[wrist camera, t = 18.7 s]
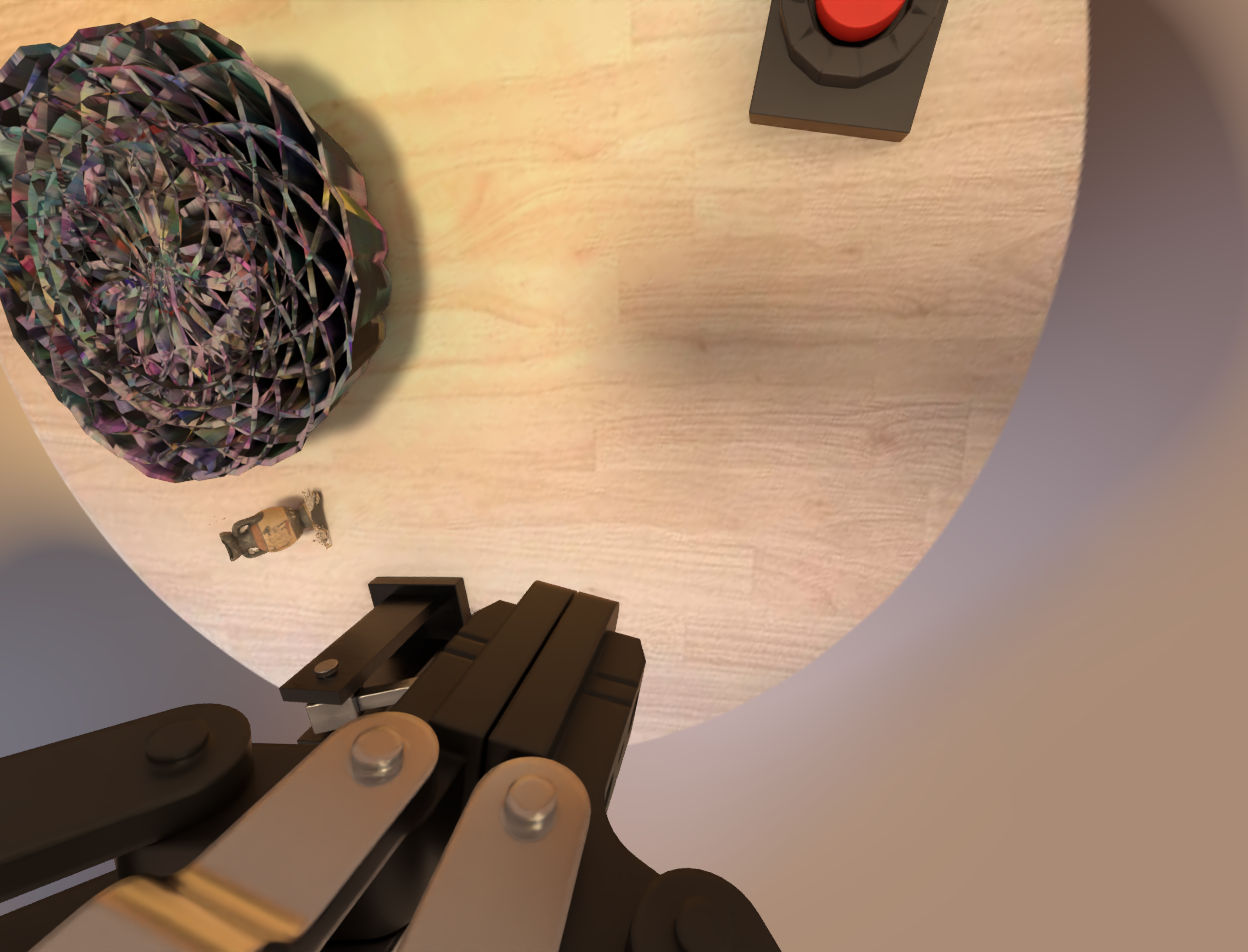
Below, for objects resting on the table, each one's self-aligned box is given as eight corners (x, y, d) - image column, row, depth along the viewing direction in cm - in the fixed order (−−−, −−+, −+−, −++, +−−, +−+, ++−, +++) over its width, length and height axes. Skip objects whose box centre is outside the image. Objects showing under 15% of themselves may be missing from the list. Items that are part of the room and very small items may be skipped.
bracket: (462, 577, 47) (358, 679, 35) (479, 653, 49) (386, 773, 37) (376, 576, 49) (250, 673, 37) (395, 649, 51) (282, 762, 39)
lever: (524, 620, 41) (525, 639, 38) (537, 687, 42) (538, 709, 40) (310, 662, 39) (297, 684, 36) (331, 730, 40) (321, 756, 38)
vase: (278, 543, 50) (217, 576, 44) (264, 483, 48) (199, 509, 43) (333, 548, 49) (277, 583, 43) (321, 487, 47) (261, 515, 41)
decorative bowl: (81, 156, 45) (-104, 130, 36) (346, -28, 34) (179, -130, 25) (233, 469, 51) (108, 513, 42) (496, 392, 40) (405, 429, 32)
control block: (797, -108, 29) (801, -165, 25) (969, -97, 27) (1000, -155, 24) (750, 123, 32) (747, 103, 29) (900, 142, 31) (918, 124, 27)
